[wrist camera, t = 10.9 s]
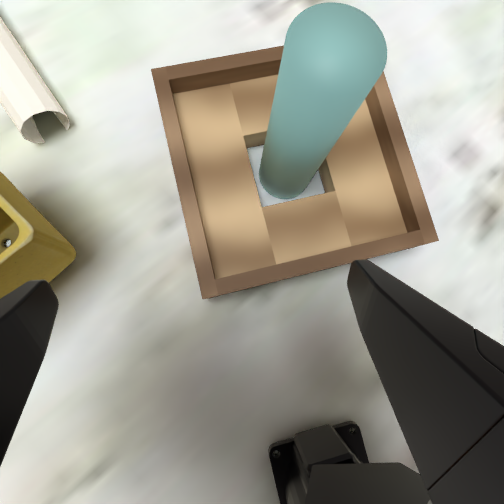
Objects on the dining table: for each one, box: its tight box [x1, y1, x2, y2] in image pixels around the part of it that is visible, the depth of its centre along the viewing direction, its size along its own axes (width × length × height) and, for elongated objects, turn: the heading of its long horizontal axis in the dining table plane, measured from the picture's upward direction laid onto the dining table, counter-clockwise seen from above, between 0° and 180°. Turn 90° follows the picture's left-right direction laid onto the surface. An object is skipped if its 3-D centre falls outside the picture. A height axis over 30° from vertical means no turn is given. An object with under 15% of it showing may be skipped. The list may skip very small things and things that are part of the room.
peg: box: [259, 3, 387, 199], centre depth 18 cm, size 4×4×12 cm
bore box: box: [151, 46, 439, 299], centre depth 22 cm, size 16×16×4 cm
